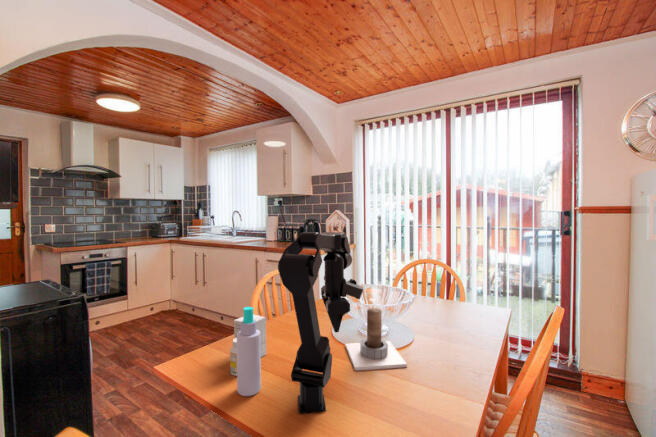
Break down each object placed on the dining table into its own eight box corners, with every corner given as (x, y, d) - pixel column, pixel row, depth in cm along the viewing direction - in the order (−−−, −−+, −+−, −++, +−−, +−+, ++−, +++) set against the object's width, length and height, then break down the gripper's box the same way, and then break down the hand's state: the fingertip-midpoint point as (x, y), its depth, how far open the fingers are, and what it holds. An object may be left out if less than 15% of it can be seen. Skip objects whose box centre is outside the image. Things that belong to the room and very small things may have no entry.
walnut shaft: (384, 353, 99) (384, 310, 99) (374, 357, 96) (374, 313, 96) (373, 348, 103) (374, 307, 103) (363, 352, 100) (364, 310, 100)
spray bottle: (261, 382, 85) (260, 304, 84) (259, 396, 79) (259, 311, 78) (239, 384, 84) (238, 305, 83) (235, 398, 78) (234, 312, 77)
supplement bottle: (228, 376, 88) (228, 343, 87) (232, 367, 93) (232, 336, 93) (247, 375, 88) (247, 343, 88) (250, 366, 93) (250, 335, 93)
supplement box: (250, 349, 105) (250, 312, 104) (266, 354, 101) (266, 316, 100) (233, 358, 99) (233, 319, 98) (250, 364, 95) (249, 324, 94)
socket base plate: (406, 367, 93) (406, 354, 93) (355, 370, 91) (355, 357, 91) (389, 343, 109) (389, 332, 109) (345, 346, 107) (345, 335, 107)
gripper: (368, 280, 83) (368, 337, 83) (354, 267, 101) (354, 313, 102) (327, 282, 81) (327, 339, 82) (320, 268, 100) (320, 315, 100)
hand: (334, 325), depth 92 cm, fingers open, 9 cm apart
